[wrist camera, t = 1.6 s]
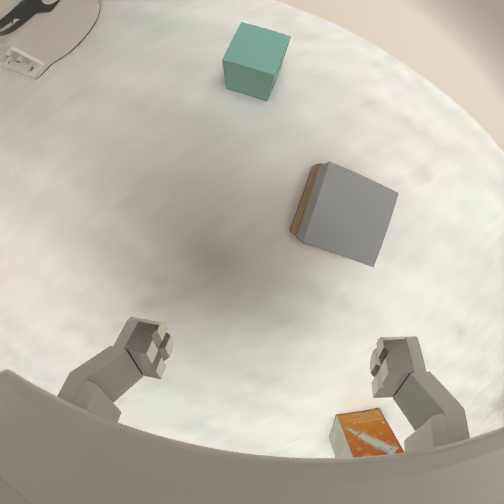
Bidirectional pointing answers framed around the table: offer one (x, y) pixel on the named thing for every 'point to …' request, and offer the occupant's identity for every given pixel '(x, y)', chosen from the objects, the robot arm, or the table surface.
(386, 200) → the tower top
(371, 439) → the small box
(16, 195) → the table surface
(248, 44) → the teal block
